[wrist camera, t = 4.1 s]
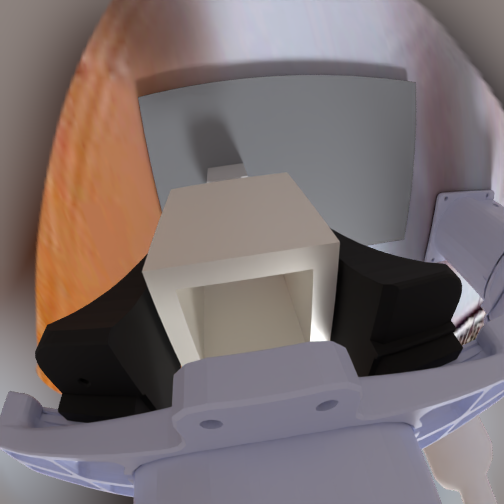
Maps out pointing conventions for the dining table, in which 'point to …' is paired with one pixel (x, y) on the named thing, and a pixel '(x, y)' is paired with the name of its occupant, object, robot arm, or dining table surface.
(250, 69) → the dining table surface
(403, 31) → the dining table surface
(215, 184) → the sleeve
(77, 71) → the dining table surface
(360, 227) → the base plate
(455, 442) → the bottle
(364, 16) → the dining table surface
